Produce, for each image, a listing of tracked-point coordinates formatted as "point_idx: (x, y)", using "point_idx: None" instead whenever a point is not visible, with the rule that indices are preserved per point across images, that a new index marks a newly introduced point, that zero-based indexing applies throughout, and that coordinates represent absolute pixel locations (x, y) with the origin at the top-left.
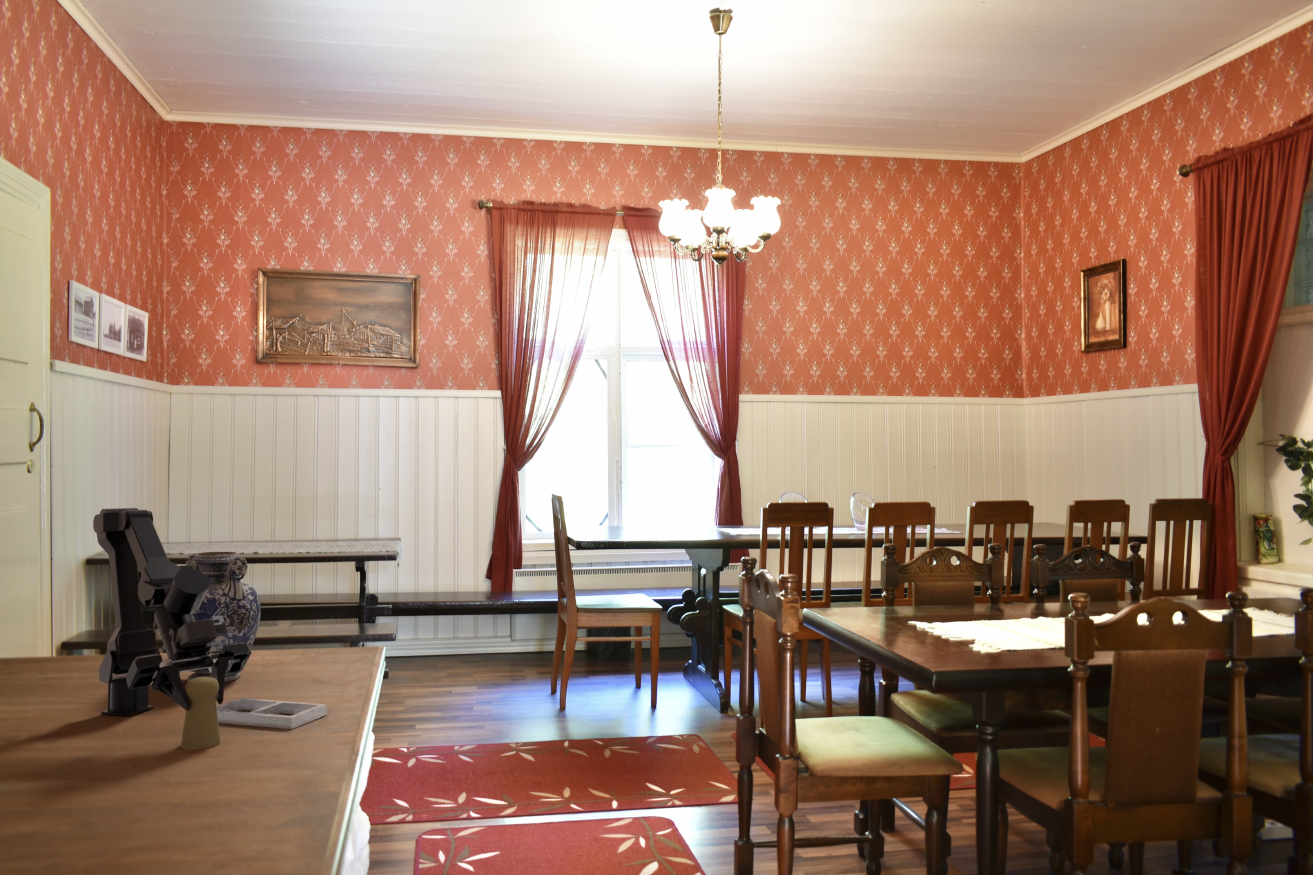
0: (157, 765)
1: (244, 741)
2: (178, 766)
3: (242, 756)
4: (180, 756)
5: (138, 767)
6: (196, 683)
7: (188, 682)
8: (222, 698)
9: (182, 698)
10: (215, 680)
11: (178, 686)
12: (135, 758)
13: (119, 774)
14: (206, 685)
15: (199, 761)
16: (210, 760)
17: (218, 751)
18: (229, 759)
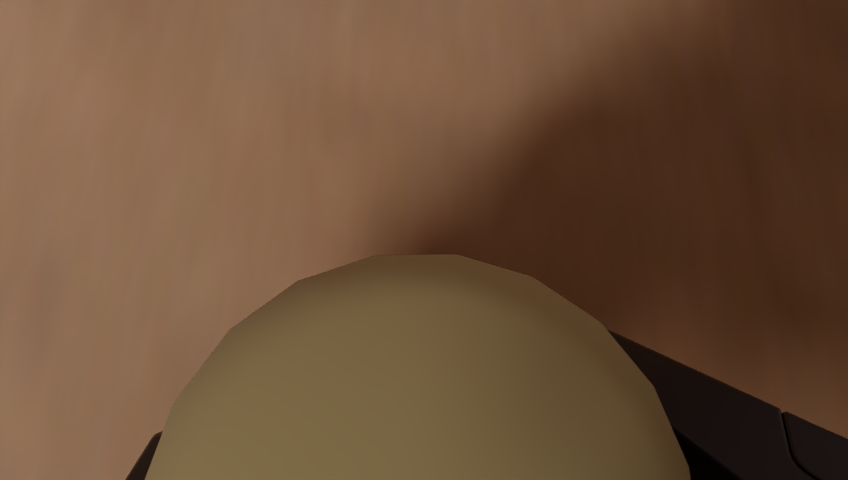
0: (641, 115)
1: (106, 372)
2: (539, 36)
3: (204, 29)
4: (523, 228)
5: (732, 133)
6: (540, 299)
7: (672, 471)
8: (157, 443)
9: (655, 356)
10: (191, 417)
11: (803, 439)
12: (767, 334)
13: (809, 61)
14: (375, 263)
15: (432, 65)
16: (376, 51)
17: (307, 213)
18: (280, 13)
